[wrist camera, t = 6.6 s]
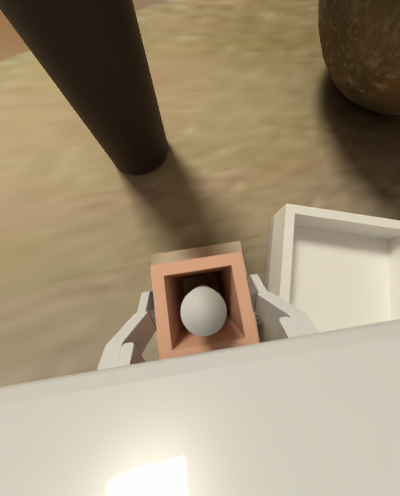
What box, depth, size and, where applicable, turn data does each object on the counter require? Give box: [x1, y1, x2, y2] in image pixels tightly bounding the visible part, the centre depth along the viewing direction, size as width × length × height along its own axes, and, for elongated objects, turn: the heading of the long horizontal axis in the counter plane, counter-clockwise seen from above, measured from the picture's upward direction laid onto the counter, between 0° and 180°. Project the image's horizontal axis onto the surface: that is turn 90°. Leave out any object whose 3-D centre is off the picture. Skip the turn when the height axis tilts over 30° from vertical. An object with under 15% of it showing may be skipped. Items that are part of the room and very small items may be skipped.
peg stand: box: [150, 241, 260, 338], centre depth 12 cm, size 9×9×10 cm
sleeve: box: [150, 252, 260, 359], centre depth 12 cm, size 5×5×8 cm
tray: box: [259, 204, 400, 342], centre depth 15 cm, size 12×14×4 cm
